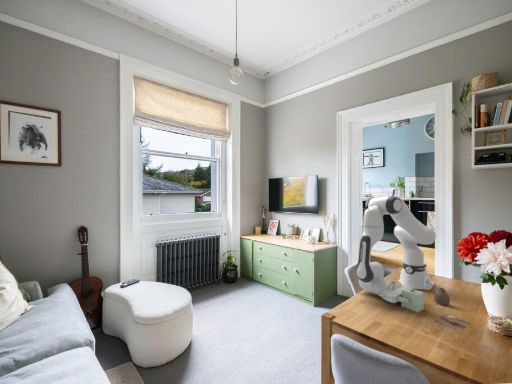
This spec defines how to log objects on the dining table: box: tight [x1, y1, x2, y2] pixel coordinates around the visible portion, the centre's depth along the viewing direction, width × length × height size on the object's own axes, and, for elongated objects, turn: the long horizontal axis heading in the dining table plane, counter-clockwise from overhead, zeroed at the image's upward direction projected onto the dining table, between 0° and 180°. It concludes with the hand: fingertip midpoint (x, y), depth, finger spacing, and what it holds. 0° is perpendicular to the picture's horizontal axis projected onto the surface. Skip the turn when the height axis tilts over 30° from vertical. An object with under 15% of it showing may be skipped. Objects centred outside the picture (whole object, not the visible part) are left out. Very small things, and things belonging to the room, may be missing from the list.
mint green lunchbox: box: [400, 288, 425, 313], centre depth 129 cm, size 6×8×10 cm
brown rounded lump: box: [433, 287, 451, 307], centre depth 134 cm, size 7×7×9 cm
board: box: [434, 313, 471, 332], centre depth 115 cm, size 12×10×1 cm
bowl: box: [446, 314, 458, 324], centre depth 115 cm, size 3×3×2 cm
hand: (413, 299), depth 128 cm, fingers open, 8 cm apart
